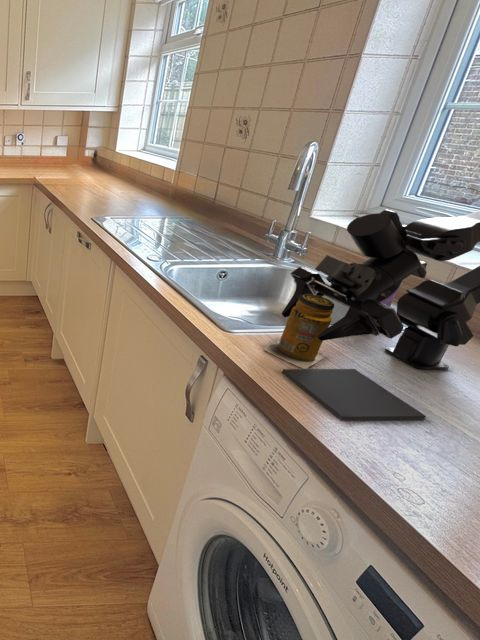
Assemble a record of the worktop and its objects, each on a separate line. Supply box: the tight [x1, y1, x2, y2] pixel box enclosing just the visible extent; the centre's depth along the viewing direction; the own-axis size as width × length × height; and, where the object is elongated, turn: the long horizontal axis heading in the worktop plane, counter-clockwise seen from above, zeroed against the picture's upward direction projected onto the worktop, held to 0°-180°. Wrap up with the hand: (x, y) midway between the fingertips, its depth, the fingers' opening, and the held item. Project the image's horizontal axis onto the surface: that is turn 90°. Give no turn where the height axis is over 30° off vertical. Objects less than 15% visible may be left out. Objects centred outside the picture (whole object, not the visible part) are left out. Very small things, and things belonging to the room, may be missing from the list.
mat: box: [281, 368, 427, 422], centre depth 69 cm, size 14×12×1 cm
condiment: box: [263, 294, 335, 369], centre depth 78 cm, size 7×8×12 cm
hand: (300, 326), depth 77 cm, fingers open, 8 cm apart
